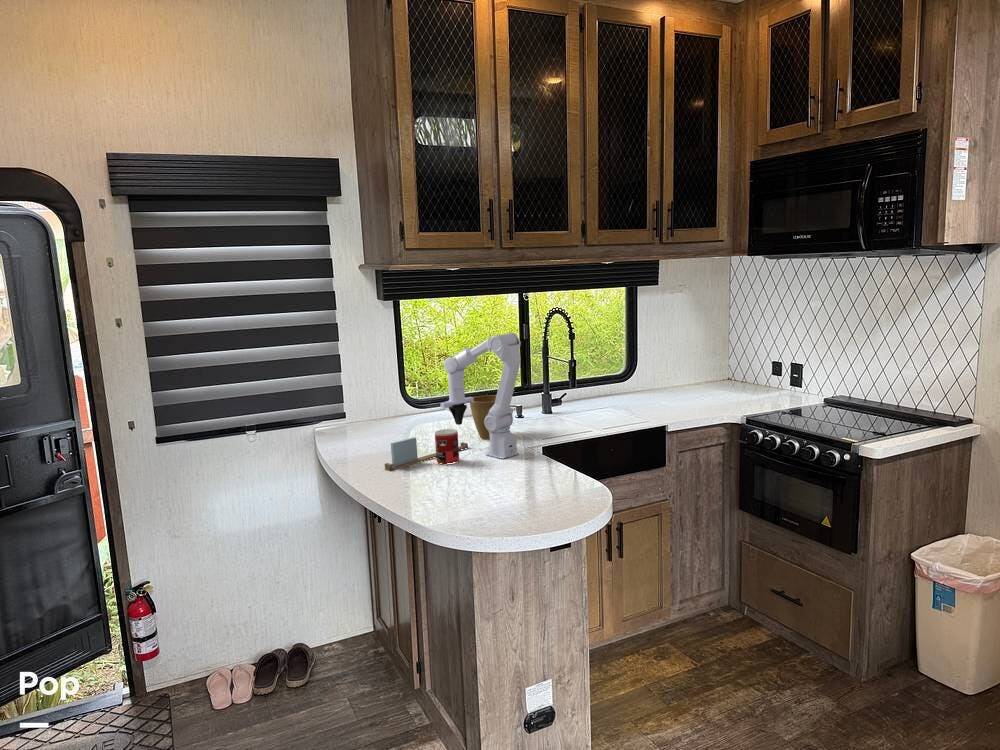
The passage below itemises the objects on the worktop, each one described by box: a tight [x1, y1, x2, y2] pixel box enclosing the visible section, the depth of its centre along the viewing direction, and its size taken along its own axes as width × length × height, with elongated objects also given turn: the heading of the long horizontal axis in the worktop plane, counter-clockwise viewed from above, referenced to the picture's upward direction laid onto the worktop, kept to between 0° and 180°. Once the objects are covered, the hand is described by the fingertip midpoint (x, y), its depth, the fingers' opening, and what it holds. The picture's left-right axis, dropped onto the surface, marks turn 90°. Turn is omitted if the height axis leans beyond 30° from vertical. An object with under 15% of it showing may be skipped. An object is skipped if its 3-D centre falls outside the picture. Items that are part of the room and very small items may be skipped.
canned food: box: [434, 428, 460, 464], centre depth 243 cm, size 8×8×11 cm
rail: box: [384, 442, 469, 472], centre depth 249 cm, size 3×35×2 cm, turn 133°
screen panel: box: [390, 436, 419, 466], centre depth 242 cm, size 2×10×8 cm, turn 133°
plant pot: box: [469, 394, 497, 440], centre depth 274 cm, size 15×15×16 cm
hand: (458, 424), depth 259 cm, fingers closed
